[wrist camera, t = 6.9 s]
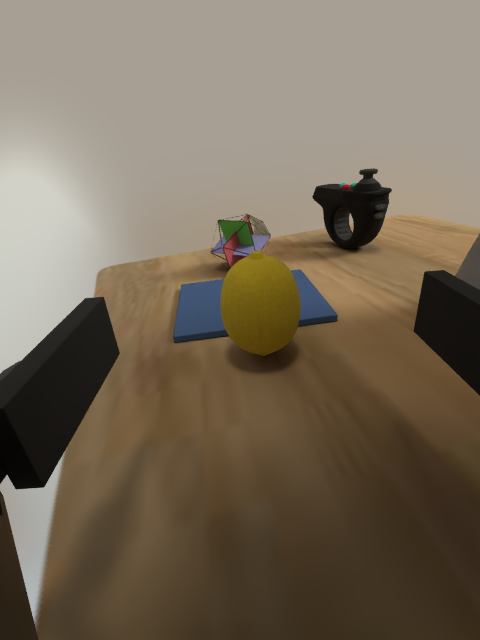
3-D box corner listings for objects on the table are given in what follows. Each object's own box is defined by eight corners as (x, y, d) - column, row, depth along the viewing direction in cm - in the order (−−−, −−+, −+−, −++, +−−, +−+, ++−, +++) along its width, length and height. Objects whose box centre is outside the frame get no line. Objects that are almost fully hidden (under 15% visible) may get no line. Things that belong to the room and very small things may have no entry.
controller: (363, 258, 41) (370, 172, 37) (308, 239, 52) (308, 170, 47) (390, 252, 43) (400, 167, 38) (331, 234, 53) (334, 166, 48)
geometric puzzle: (242, 268, 36) (259, 199, 36) (193, 262, 39) (210, 199, 40) (268, 285, 42) (282, 226, 43) (224, 279, 46) (238, 225, 46)
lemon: (314, 365, 23) (316, 254, 19) (238, 385, 22) (224, 271, 18) (283, 329, 28) (279, 235, 24) (219, 344, 27) (205, 247, 23)
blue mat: (300, 274, 39) (300, 269, 38) (337, 320, 28) (337, 314, 28) (182, 289, 38) (181, 284, 38) (174, 342, 28) (173, 336, 27)
